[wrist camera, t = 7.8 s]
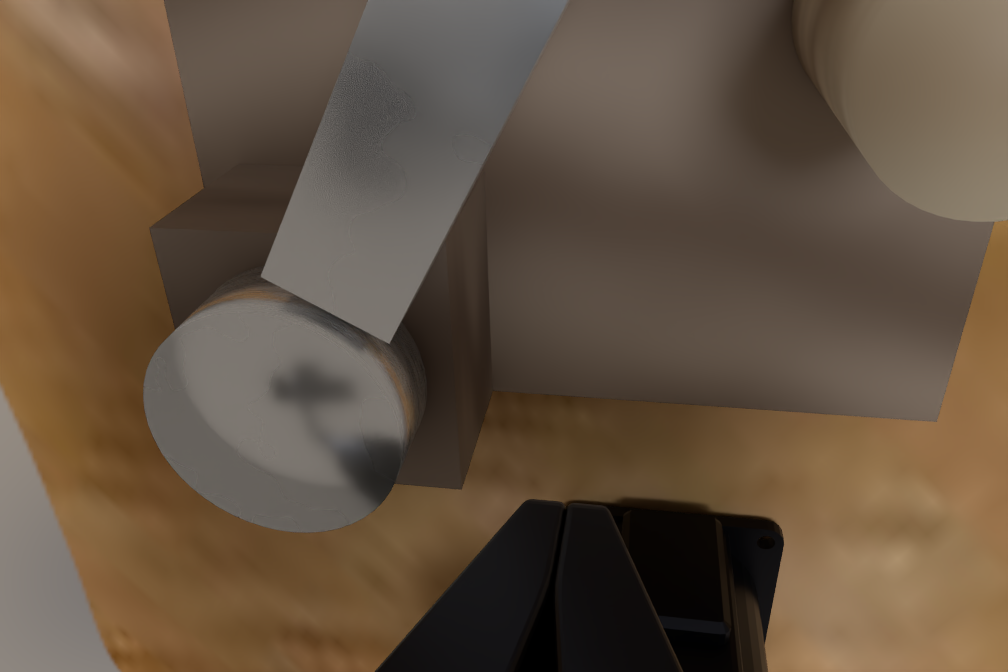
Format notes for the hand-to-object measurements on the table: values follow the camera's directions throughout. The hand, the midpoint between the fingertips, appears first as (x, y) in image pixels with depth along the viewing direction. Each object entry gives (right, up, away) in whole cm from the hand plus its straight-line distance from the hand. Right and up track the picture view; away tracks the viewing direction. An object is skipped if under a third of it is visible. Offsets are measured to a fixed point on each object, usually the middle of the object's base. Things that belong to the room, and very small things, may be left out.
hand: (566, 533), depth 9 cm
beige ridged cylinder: (+7, +8, +7) cm, 13 cm away
